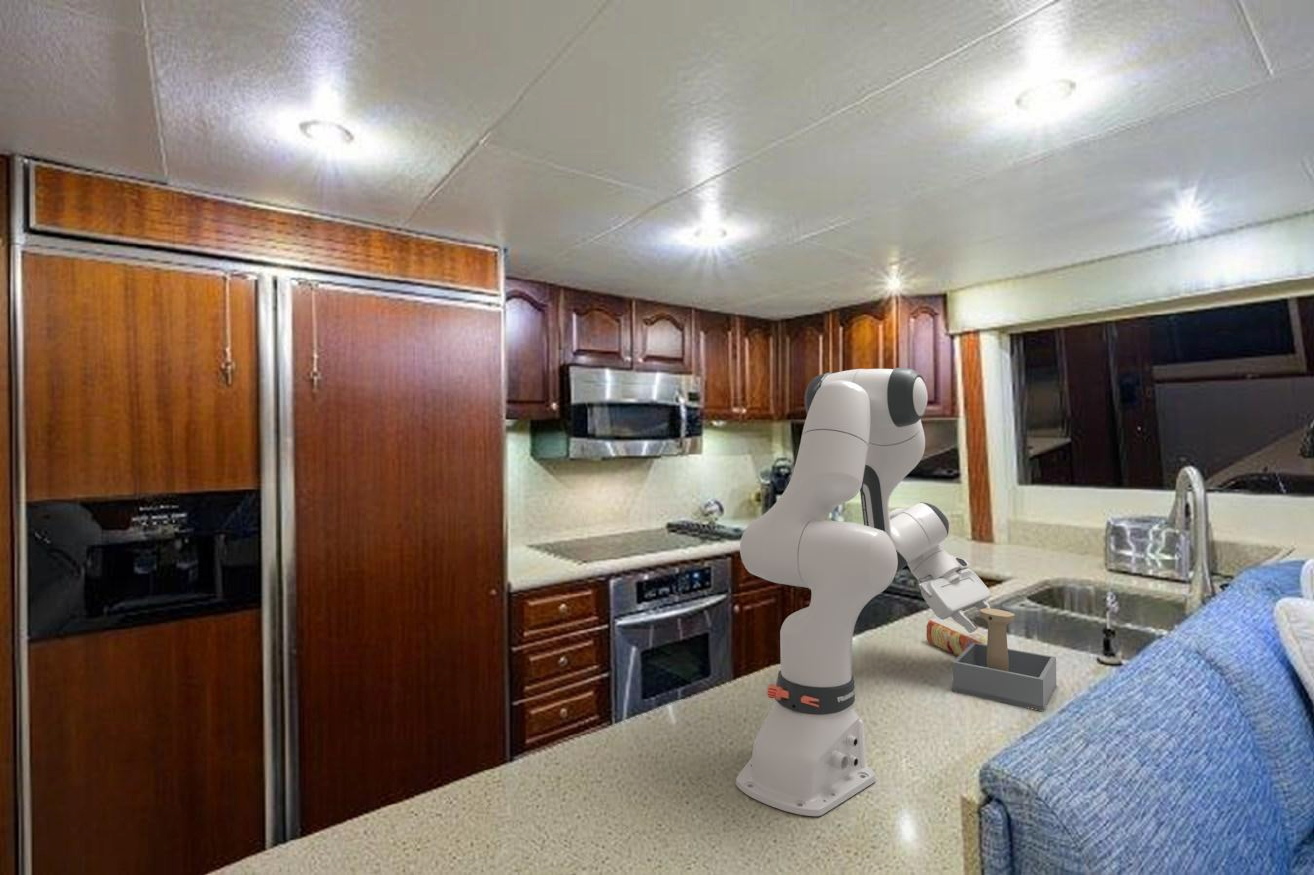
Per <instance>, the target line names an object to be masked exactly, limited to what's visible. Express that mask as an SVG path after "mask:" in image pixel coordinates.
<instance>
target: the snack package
mask: <svg viewBox="0 0 1314 875" xmlns="http://www.w3.org/2000/svg"><path fill="white" fill-rule="evenodd" d="M926 640H927V642H928V643H929V644H931V645H933V646H935V647H938V648H940V649H942V650H944V651H946V652H948V653H951V654H953V655H955V656H957V657H958V656H959V655H960V654H961V653H962V652H963V651H964V650H965V649H966V648H967V647H968V646H969V645H970V644H971V643H972V642H974V643H979V644H985V645H987V640H988V635H987V636H986V635H985V634H982V633H980V632H977V631H976V630H975V631H974V632H972V633H969V632H968V631H967V630H966V629H965V628H964V627H963V626H961V625H960V624H958V623H957V622H956V623H955V621H954V622H953V621H952V620H949V619H948V618H946V619H944V620H942V619H940V618H939V617H933V618H931V619H930V620H928V622H927V623H926Z"/></svg>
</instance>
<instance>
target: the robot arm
mask: <svg viewBox="0 0 1314 875" xmlns="http://www.w3.org/2000/svg"><path fill="white" fill-rule="evenodd" d="M928 400H929V399H928V389H927V385H926V382H925V379H924V377H923V376H922V375H921V374H920V373H919V372H918V371H916V370H915V369H912V368H906V367H895V368H893V369H892V368H856V369H849V370H842V371H838V372H834V373H833V372H826V373H823V374H819V375H817V376H815V377H813V378H812V380H811V381H810V382H809V384H808V385H807V386H806V389H805V391H804V408H805V412H806V418H805V421H804V424H803V428H802V433H801V438H800V442H799V443H800V444H799V448H798V453H797V456H796V460H795V465H794V469H793V471H792V475H791V478H790V480H789V482H788V484H787V487H786V488H785V490H784V491H783V493H782V494H781V495H780V497H779V498H778V500H776V502H775V503H774V504H773V505H772V506H771V508H769V509H768V510H767V511H766V512H765V513H763V514H762V515H761V516H759V517H757V518H755V519H754V520H752V521H751V522H750V523H749V524H748V525H747V526H746V528H745V530H743V533H742V534H741V538H740V542H739V554H740V559H741V562H742V564H743V567H744V568H745V569H746V571H747V572H748V573H750V574H751V575H754V576H756V577H758V578H760V579H763V580H766V581H768V582H772V583H775V584H781V585H788V586H793V587H801V588H808V589H809V590H810V591H811V592H810V593H811V596H810V602H809V606H806V607H803V608H801V609H799V610H797V611H795V612H793V613H791V614H790V615H788V616H787V617H786V618H785V619H784V621H783V623H782V625H781V628H780V632H779V634H780V636H779V638H780V640H779V642H780V645H779V646H780V649H779V650H780V670H778V673H777V678H776V682H775V684H772V683H771V684H769V685H768V687H767V689H766V694H767V695H766V696H767V697H768V698H770V699H775V700H774V702H773V704H772V706H771V708H770V709H769V712H768V713H767V715H766V717H765V719H764V721H763V723H762V726H760V730H759V731H758V733H757V735H756V737H755V739H754V741H753V746H752V754H751V758H750V759H749V760H748V762H747V763H746V764H745V765H744V767H743V768H742V769H741V771H740V772H739V773H738V774H737V777H736V778H735V786H736V787H737V788H738V789H739V790H740V791H741V792H742V793H744V794H745V795H747V796H749V797H750V798H752V799H754V800H756V801H758V802H760V803H762V804H765V805H768V806H769V807H773V808H776V809H779V810H781V811H784V812H787V813H792V814H795V815H800V816H806V817H808V816H809V817H820V816H823V815H825V814H826V813H828V812H829V811H832V809H834V808H836V807H837V806H839V805H840V804H842V803H843V802H845V801H847V800H849V799H850V798H851V797H853V796H855V795H856V794H858V793H859V792H861V791H863V790H864V789H866V788H867V787H869V786H871V785H872V784H874V783H875V782H876V780H877V779H876V778H877V777H876V773H875V771H874V770H873V769H872V768H871V767H869V766H868V761H867V749H866V737H865V735H866V734H865V726H864V722H863V720H862V718H861V717H860V715H859V714H858V712H857V710H856V708H855V705H854V704H855V701H856V684H855V677H854V675H853V673H852V658H853V656H852V655H853V654H852V652H853V638H854V637H853V635H854V631H855V626H856V623H857V620H858V617H859V616H860V614H861V612H862V610H863V609H864V607H866V605H867V604H868V603H869V602H870V601H871V600H872V599H874V598H875V597H876V596H877V595H879V594H881V593H882V592H884V591H885V590H886V589H887V588H888V587H889V586H890V585H891V583H892V582H893V581H894V578H895V576H896V574H897V573H898V572H900V571H901V570H903V568H905V567H906V566H907V567H908V568H909V570H910V572H911V574H912V575H913V576H914V577H915V579H917V583H918V588H919V589H920V593H921V596H922V598H923V599H924V601H925V603H927V605H928V606H929V608H930V609H931V611H932V612H933V614H934V615H935V616H936V618H940V619H942V620H944V619H948V618H952V620H953V621H954V623H955V622H956V624H958V625H960V626H963V627H964V628H965V629H966V630H967V631H968V632H969V633H972V632H974V631H975V632H976V631H977V630H978V628H979V627H978V625H977V624H976V623H975V621H973V620H970V619H969V618H968V617H967V616H966V615H965V611H968V610H970V609H973V608H976V609H977V610H978V611H980V609H985V608H990V609H992V608H991V607H990V606H991V605H990V604H989V603H988V600H989V599H990V598H992V594H991V591H990V589H989V588H988V586H987V585H986V584H985V583H984V582H983V581H982V579H981V578H980V577H979V576H978V574H976V572H975V571H974V570H972V569H970V568H969V567H970V564H969V563H968V561H967V560H966V559H965V558H963V557H962V558H961V557H957V556H954V555H952V554H949V553H948V552H947V551H946V550H945V549H944V548H943V547H941V546H940V544H942V542H944V541H945V539H946V538H947V537H948V535H949V531H950V523H949V520H948V518H947V516H946V515H945V514H944V513H943V512H942V511H941V510H940V509H939V507H937V506H936V505H934V504H931V503H929V502H923V501H921V502H919V503H916V504H914V505H911V506H909V507H907V508H903V507H898V508H895V509H893V510H891V511H890V509H889V502H890V499H891V496H892V494H893V492H894V491H895V489H896V488H897V486H898V485H899V484H900V483H901V481H903V480H904V479H905V477H907V476H908V475H909V474H910V473H911V472H912V471H913V470H914V469H915V468H916V467H917V465H919V463H920V461H921V460H922V458H923V456H924V453H925V448H926V436H925V431H924V427H923V423H922V418H923V417H924V416H925V413H926V411H927V405H928ZM858 493H860V494H859V495H860V501H861V502H860V503H861V511H862V519H863V524H861V523H859V522H854V521H853V522H851V521H839V520H838V521H837V520H826V518H827V517H828V516H829V515H830V514H831V512H832V511H834V510H835V508H837V507H839V506H840V505H842V504H846V503H847V502H849V501H851V500H852V499H854V498H856V497H857V494H858ZM985 622H987V621H986V620H985Z"/></svg>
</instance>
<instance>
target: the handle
mask: <svg viewBox="0 0 1314 875" xmlns="http://www.w3.org/2000/svg"><path fill="white" fill-rule="evenodd" d="M990 608H991V607H990ZM990 608H985V609H980V610H979V617H980V618H982V620H986V621H985V622H986V623H987V637H988V640H987V668H992V669H997V670H1002V671H1008V667H1009V666H1008V665H1009V660H1008V649H1009V648H1008V638H1007V637H1008V636H1007V627H1008V624H1012V623H1014V622H1015V618H1016V617H1015V613H1012V612H1010V611H1007V610H1002V609H997V608H991V609H990Z"/></svg>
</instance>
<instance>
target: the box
mask: <svg viewBox="0 0 1314 875" xmlns="http://www.w3.org/2000/svg"><path fill="white" fill-rule="evenodd" d="M1008 660H1009V665H1008V666H1009V667H1008V671H1002V670H997V669H992V668H987V645H985V644H979V643H974V642H972V643H971V644H970V645H969V646H968V647H967V648H966V649H965V650H964V651H963V652H962V653H961V654H960V655H959V656H957V657H956V658H955V659H954V660H953V661H952V692H954V693H958V694H962V695H966V696H972V697H976V698H980V699H983V700H990V701H992V702H993V701H994V702H999V703H1001V704H1003V703H1004V704H1008V705H1012V706H1017V707H1020V708H1025V707H1027V708H1026V709H1029V708H1033V709H1032V710H1034V709H1037V710H1036V711H1038V710H1044V708H1045V707H1046V708H1047V706H1048V704H1047V703H1049V702H1048V701H1050V699H1051V697H1052V696H1053V694H1054V691H1055V689H1056V688H1057V657H1056V656H1053V655H1046V654H1040V653H1037V652H1029V651H1024V650H1019V649H1013V648H1008ZM1046 705H1047V706H1046ZM1028 707H1029V708H1028ZM1046 708H1045V709H1046ZM1044 711H1045V710H1044Z"/></svg>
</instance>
